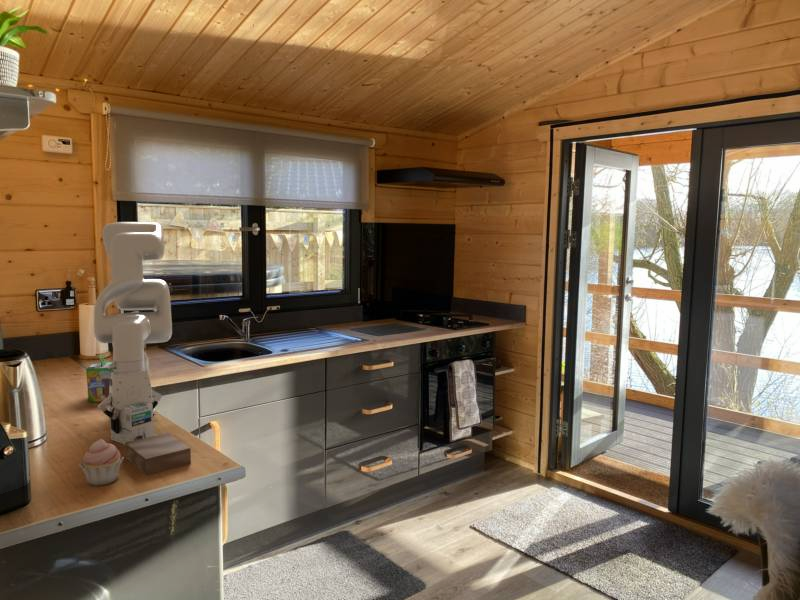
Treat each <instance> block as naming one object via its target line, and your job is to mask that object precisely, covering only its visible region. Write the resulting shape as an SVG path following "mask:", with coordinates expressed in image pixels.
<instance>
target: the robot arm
mask: <svg viewBox="0 0 800 600" xmlns="http://www.w3.org/2000/svg"><path fill="white" fill-rule="evenodd" d="M101 233H102V234H101V235H102V241H103V246H104V249H105V252H106V254H107V256H108V259H109V261H110V282H109V283H108V285H106V287H104V288H103V289H102V290H101V292H100V293H99V295H98V296H97V297H96V300H95V303H94V308H93V334H94V337H95V340H97V341H98V342H99V343H102V344H112V354H113V356H112V357H113V359H112V362H113V363H111V364H108V368H109V369H113V370H114V371H113V372H112V374H111V379H110V390H109V396H108V397H107V398H106V399H105V400H103V401H102V402H99V404H98V405H97V408H98V410H100V411H101V412H102V413H103V414H104V415H106V416H107V417H109V419H110V418H111V427H110V431H111V430H113V431H114V432H115V433H116V434H118V433H119V419H118V418H117V416H118V414H119V412H120V411H122V410H124V407H127V406H133V405H139V404H145V403H151V404H153V414H154V415H155V414H156V413H157V409H156V407H157V406H158V404H159V402H160V401H161V399H162V397H163V395H162V393H159V392H157V391H155V390H153V389H152V384H151V383H152V382H151V377H150V373H149V372H150V369H149V368H150V367H149V357H148V355H147V353H146V351H144V349H145V348H144V344H158V343H161V344H162V343H165V342H168V341H169V340H170V339H171V337H172V335H173V321H172V319H173V318H172V305H171V294H170V293H171V292H170V288H169V285H168V283H167V282H166V281H165V280H163V279H160V278H146V279H145V278H144V267H143V262H150V261H151V262H152V261H153V262H155V261H156V262H157V261H161V260H162V259H163V257H164V254H165V234H164V230H163V227H162V225H161V224H160V223H158V222H152V221H151V222H147V221H146V222H145V221H141V222H139V221H116V222H110V223H108V224H105V225H104V227H102V232H101ZM113 301H114V304H115V306H116V308H118V309H119V310H122V311H133V312H122V313H118V314H116V315H106V309H107V307H108V306H109V305H110V303H112V302H113ZM150 310H151V311H150ZM134 311H138V312H134ZM143 311H144V312H143ZM153 397H154V398H153ZM109 403H110V406H111V407H113V408H112V409H111V411H110V409H109V408H107V406H108V405H109Z"/></svg>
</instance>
